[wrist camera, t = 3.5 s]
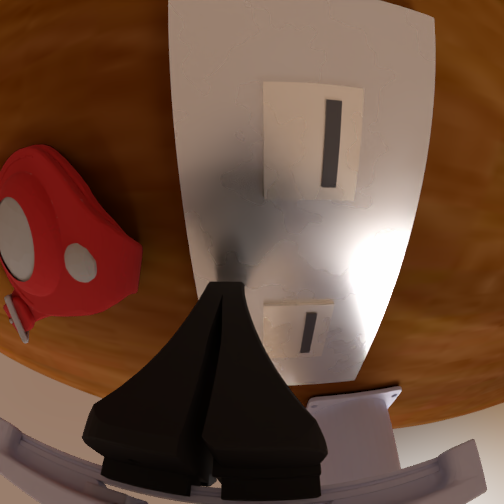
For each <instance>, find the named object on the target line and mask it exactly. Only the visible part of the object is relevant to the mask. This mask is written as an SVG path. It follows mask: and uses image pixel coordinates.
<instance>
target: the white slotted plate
mask: <svg viewBox="0 0 504 504" xmlns="http://www.w3.org/2000/svg"><path fill="white" fill-rule="evenodd" d="M168 30H169V61H170V80H171V95H172V109H173V121H174V132H175V143H176V152H177V162H178V170H179V179H180V187H181V195H182V202H183V209H184V217H185V223H186V230H187V237H188V243H189V249H190V255H191V261H192V267H193V273H194V279H195V284H196V290H197V295H198V300H199V298H200V297H201V295H202V293H203V292H204V290H205V288H206V286H207V284H208V283H209V282H210V281H228V282H243V283H244V285H245V297H246V302H247V306H248V309H249V312H250V315H251V318H252V321H253V324H254V326H255V329H256V331H257V333H258V336H259V338H260V340H261V342H262V344H263V346H264V348H265V350H266V352H267V354H268V356H269V358H270V359H271V361H272V363H273V364H274V366H275V368H276V369H277V371H278V372H279V374H280V375H281V377H282V378H283V380H284V381H285V383H286V384H287V385H307V384H322V383H333V382H343V381H352V380H355V378H356V376H357V374H358V372H359V370H360V368H361V366H362V364H363V362H364V359H365V357H366V355H367V353H368V351H369V348H370V346H371V344H372V342H373V339H374V337H375V335H376V332H377V330H378V327H379V325H380V322H381V320H382V317H383V315H384V312H385V310H386V307H387V304H388V302H389V299H390V296H391V294H392V291H393V288H394V285H395V282H396V279H397V276H398V273H399V270H400V267H401V264H402V261H403V257H404V254H405V251H406V247H407V244H408V240H409V237H410V233H411V229H412V226H413V222H414V218H415V214H416V210H417V205H418V201H419V196H420V192H421V187H422V182H423V177H424V171H425V166H426V160H427V154H428V147H429V140H430V132H431V124H432V114H433V103H434V88H435V25H434V18H433V17H431V16H428V15H425V14H423V13H420V12H417V11H414V10H411V9H408V8H405V7H402V6H398V5H395V4H392V3H388V2H384V1H380V0H168Z"/></svg>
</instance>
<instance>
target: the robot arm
mask: <svg viewBox="0 0 504 504" xmlns="http://www.w3.org/2000/svg"><path fill="white" fill-rule="evenodd" d="M401 391H402V389H401V386H396V387H390V388H384V389H378V390H372V391H365V392H358V393H350V394H342V395H332V396H322V397H313V398H311V399H309V401H308V404H307V407H306V408H305V407H304V406H303V405H302V404H301V402H300V401H299V400H298V399H297V397H296V396H295V395H294V394H293V392H292V391H291V390H290V388H289V387H288V385H287V384H286V383H285V381H284V380H283V378H282V377H281V375H280V374H279V372H278V371H277V369H276V368H275V366H274V364H273V363H272V361H271V359H270V358H269V356H268V354H267V352H266V350H265V348H264V346H263V344H262V342H261V340H260V338H259V336H258V333H257V331H256V329H255V326H254V324H253V321H252V318H251V315H250V312H249V309H248V306H247V302H246V297H245V285H244V283H243V282H228V281H210V282H209V283H208V284H207V286H206V288H205V290H204V292H203V293H202V295H201V297H200V298H199V300H198V302H197V303H196V305H195V306H194V308H193V309H192V311H191V312H190V314H189V315H188V317H187V318H186V320H185V321H184V322H183V324H182V325H181V326H180V328H179V329H178V330H177V332H176V333H175V334H174V336H173V337H172V338H171V339H170V340H169V342H168V343H167V344H166V345H165V346H164V347H163V348H162V349H161V351H160V352H159V353H158V354H157V355H156V356H155V357H154V358H153V359H152V360H151V361H150V362H149V363H148V364H147V365H146V366H145V367H143V368H142V369H141V370H140V371H139V372H138V373H137V374H135V375H134V376H133V377H132V378H130V379H129V380H128V381H127V382H126V383H124V384H123V385H122V386H121V387H119V388H118V389H116V390H115V391H113V392H112V393H110V394H109V395H107V396H106V397H104V398H103V399H102V400H100V401H98V402H97V403H95V404H94V405H93V407H92V409H91V411H90V413H89V416H88V419H87V422H86V426H85V429H84V432H83V436H82V439H83V440H84V442H85V443H86V444H87V445H88V446H89V447H91V448H92V449H93V450H95V451H96V452H98V453H100V454H101V455H103V456H104V461H103V465H102V466H101V465H97V464H95V463H91V462H89V461H86V460H83V459H80V458H78V457H75V456H72V455H70V454H67V453H65V452H62V451H60V450H57V449H55V448H53V447H51V446H48V445H46V444H44V443H42V442H40V441H38V440H35V439H33V438H31V437H29V436H27V435H25V434H24V433H22V432H21V431H20V430H19V429H18V428H16V427H15V426H13V425H12V424H11V423H9V422H7V421H6V420H4V419H2V418H0V474H1V475H2V476H4V477H5V478H6V479H8V480H9V481H10V482H12V483H13V484H14V485H15V486H17V487H18V488H19V489H21V490H22V491H23V492H25V493H26V494H27V495H29V496H30V497H32V498H33V499H35V500H36V501H38V502H39V503H41V504H148V503H147V502H146V501H143V500H140V499H136V498H134V497H131V496H128V495H126V494H124V493H120V492H117V491H114V490H111V489H108V488H107V487H106V485H105V484H108V485H112V486H115V487H118V488H121V489H125V490H129V491H133V492H136V493H140V494H145V495H149V496H154V497H158V498H164V499H169V500H175V501H181V502H188V503H196V504H466V503H467V502H469V501H471V500H473V499H474V498H476V497H478V496H480V495H481V494H483V493H485V492H486V490H487V487H486V482H485V478H484V473H483V469H482V465H481V461H480V457H479V454H478V450H477V447H476V443H475V440H474V439H472V440H469V441H467V442H465V443H462V444H460V445H458V446H455V447H453V448H451V449H449V450H447V451H445V452H443V453H442V454H440V455H439V456H438V457H436V458H434V459H431V460H428V461H426V462H422V463H420V464H417V465H413V466H410V467H407V468H404V469H401V467H400V462H399V458H398V452H397V448H396V443H395V439H394V435H393V430H392V425H391V421H390V417H389V413H388V408H389V407H390V405H391V404H392V403H393V402H394V400H395V399H396V398H397V397H398V395H399V394H400V393H401ZM217 479H218V480H219V482H220V483H221V484H222V486H221V488H212V487H208V486H211V485H212V484H214V483H215V482H216V481H217ZM104 483H105V484H104ZM202 486H207V487H202Z"/></svg>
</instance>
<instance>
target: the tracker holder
mask: <svg viewBox="0 0 504 504" xmlns="http://www.w3.org/2000/svg"><path fill="white" fill-rule="evenodd" d="M142 253H143V248H142V245H141V244H140V243H138V242H137V241H135V240H134V239H132V238H131V237H129V236H128V235H126V233H125V232H124V231H123V230H122V228H121V227H120V226H119V225H118V224H117V223H116V221H115V220H114V219H113V218H112V217H111V216H110V215H109V214H108V213H107V212H106V211H105V210H104V209H103V207H102V206H101V205H100V204H99V203H98V201H97V200H96V198H95V197H94V195H93V194H92V192H91V190H90V188H89V186H88V185H87V184H86V182H85V181H84V180H83V178H82V177H81V176H80V174H79V173H78V172H77V171H76V170H75V169H74V168H73V166H72V165H71V164H70V163H69V162H68V161H67V160H66V159H65V158H64V157H63V156H62V155H61V154H60V153H59V152H58V151H57V150H55V149H54V148H52V147H50V146H48V145H32V146H29V147H25V148H22V149H19V150H17V151H16V152H14V153H13V154H12V155H11V156H10V157H9V158H8V159H7V161H6V162H5V164H4V165H3V167H2V169H1V171H0V261H1V264H2V266H3V268H4V270H5V273H6V275H7V277H8V279H9V281H10V283H11V284H12V286H13V287H14V291H13V293H12V294H10V295H7V296H5V297H4V298H5V302H6V304H5V305H4V307H3V308H4V310H5V312H6V313H7V315H8V317H9V321H10V323H12V325H13V326H14V327H15V329H16V330H17V332H18V333H19V335H20V337H21V339H22V341H23V342H24V343H27V342H28V341H29V330H31V329H32V328H33V327H34V323H35V322H36V321H38V320H40V319H43V318H45V317H48V316H85V315H93V314H96V313H100V312H103V311H105V310H106V309H108V308H110V307H112V306H113V305H115V304H117V303H119V302H120V301H121V300H123V299H124V298H125V297H127V296H128V295H129V294H135V293H137V291H138V284H139V276H140V269H141V261H142Z"/></svg>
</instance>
